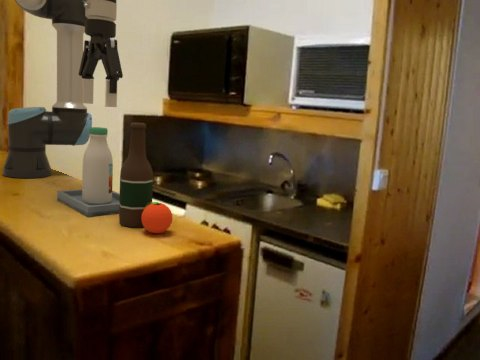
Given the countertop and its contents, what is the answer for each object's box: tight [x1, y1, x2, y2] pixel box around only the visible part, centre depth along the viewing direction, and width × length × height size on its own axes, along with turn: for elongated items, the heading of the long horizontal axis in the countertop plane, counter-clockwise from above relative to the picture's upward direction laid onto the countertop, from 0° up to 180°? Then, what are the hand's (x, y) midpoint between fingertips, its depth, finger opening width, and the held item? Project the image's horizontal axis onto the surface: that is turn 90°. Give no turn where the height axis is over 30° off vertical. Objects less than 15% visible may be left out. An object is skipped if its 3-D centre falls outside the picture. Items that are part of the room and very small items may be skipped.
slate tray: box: [56, 189, 120, 218], centre depth 122 cm, size 20×14×2 cm
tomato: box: [141, 201, 173, 234], centre depth 101 cm, size 8×7×7 cm
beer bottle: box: [118, 122, 154, 229], centre depth 105 cm, size 8×8×24 cm
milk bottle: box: [81, 126, 114, 204], centre depth 120 cm, size 8×8×20 cm
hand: (98, 105), depth 117 cm, fingers open, 13 cm apart
